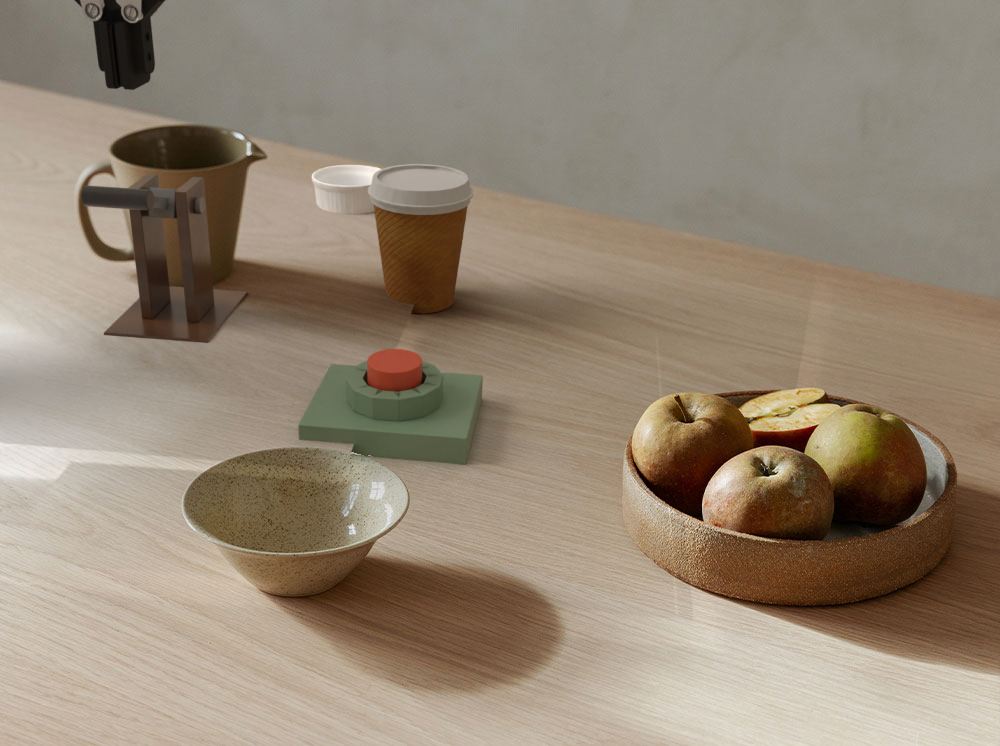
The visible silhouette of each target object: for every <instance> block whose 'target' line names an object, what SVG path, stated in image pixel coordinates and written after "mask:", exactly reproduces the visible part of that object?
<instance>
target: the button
mask: <svg viewBox="0 0 1000 746" xmlns="http://www.w3.org/2000/svg"><path fill="white" fill-rule="evenodd" d="M366 361H367V381H368V384H369V386H370V387H373V388H375V389H378V390H383V391H396V392H399V391H405V390H411V389H414V388H416V387H418V386H420V385H421V383H422V361H423V358H422V357H421V355H420V354H418V353H416V352H415V351H412V350H409V349H405V348H404V349H403V348H386V349H381V350H378V351H375V352H373V353H372V354H370V355H368V358H367V360H366Z"/></svg>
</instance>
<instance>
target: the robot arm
mask: <svg viewBox="0 0 1000 746" xmlns="http://www.w3.org/2000/svg"><path fill="white" fill-rule="evenodd" d="M74 2H75V3H76V4H77V5H79V6H80V8H81V9H82V13H83V15H84V16H85V18H86V19H87V20H89V21H92V23H93V24H92V25H93V31H94V32H93V33H94V39H95V41H94V42H95V48H96V58H97V65H98V68H99V70H100V72H104V79H105V86H106V88H107V89H109V90H111V89H112V90H118V89H120V88H123V89H124V90H128V91H134V90H136V89H138V88H141V87H142V86H144V85H145V84H148V83H150V81H151V78H152V77H151V74H153V73H154V71H155V69H156V61H155V60H156V59H155V49H154V39H153V28H152V17H154V16H155V15H156V14H157V13H158V9H159V8H160V7H161V6H162V5H163V4H164V3H165V2H166V0H121V1H120V0H74Z"/></svg>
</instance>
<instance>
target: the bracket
mask: <svg viewBox="0 0 1000 746" xmlns="http://www.w3.org/2000/svg"><path fill="white" fill-rule="evenodd" d="M159 182H160V181H159V175H158V174H153V173H146V174H145V175H143V176H142V177H141V178H139V179H138V180H137V181H135V182H134V183H132V184H131V185H130V186H128V188H133V189H148V190H149V188H160V183H159ZM205 187H206V186H205V178H204V177H202V176H199V177H198V176H192V177H191V178H190V179H188V180H187V181H186V182H185V183H183V184H182V185H181V186H180V187H178V188H176V189H177V190H176V191H175V203H176V213H177V219H176V223H177V234H178V243H179V253H180V264H181V272H182V273H181V275H182V284H183V285H182V286H172V285H170V279H169V269H168V260H167V251H166V241H165V231H164V222H163V221H164V219H163V218H160V217H149V211H147V210H132V209H128V210H129V211H128V212H129V219H130V229H131V236H132V237H131V239H132V246H133V255H134V261H135V271H136V280H137V289H138V296H139V297H138V299H137V300H136V301H134V302H133V303H132V304H131V305H130V306H129V307H128V308H127V309H126V310H125V311H124V312H123V313H122V314H121V315H120V316H119V317H118V318H117V319H116V320H115V321H114V322H113V323H111V325H110V326H109V327H108V328H107V329H106V330H104V331H103V336H111V337H125V338H138V339H153V340H163V341H176V342H177V341H178V342H190V343H203V344H204V343H205V344H208V343H210V341H212V339H213V338H214V337H215V335H216V334H217V332H218V331H219V330H220V329H221V327H222V326H223V325H224V324H225V323H226V321H227V320H228V319H229V318H230V317H231V316H232V315H233V313H234V311H236V309H237V308H238V307H239V305H240V304H241V303H242V301H243V300H244V299H245V298H246V296H247V295H248V291H243V290H229V289H228V290H227V289H216V288H214V284H213V283H214V282H213V270H212V259H211V248H210V236H209V223H208V212H207V211H208V210H207V199H206V188H205Z"/></svg>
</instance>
